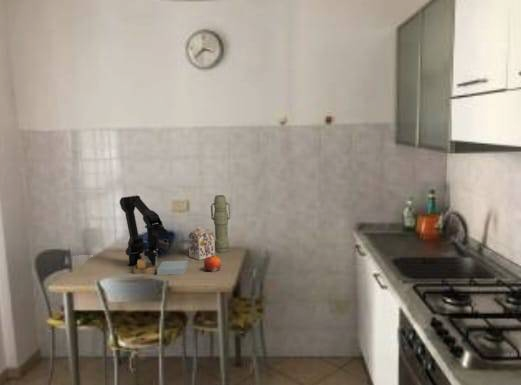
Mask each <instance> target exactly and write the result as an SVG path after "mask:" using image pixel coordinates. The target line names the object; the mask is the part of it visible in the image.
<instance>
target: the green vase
mask: <svg viewBox="0 0 521 385" xmlns="http://www.w3.org/2000/svg"><path fill="white" fill-rule="evenodd" d="M227 205H228V210H227ZM213 206H214V209H213ZM213 210H214V211H213ZM227 211H228V212H227ZM210 216H211V220H212V221H213V224H214V239H215V251H216V252H215V253H226V252H229V251H230V241H229V235H228V234H229V233H228V232H229V231H228V224H229V220H231V206H230V203H229V202H227V199H226V196H225V195H223V194H219V195H215V196H214V199H213V203H211V205H210Z"/></svg>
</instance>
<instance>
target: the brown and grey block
mask: <svg viewBox="0 0 521 385" xmlns="http://www.w3.org/2000/svg"><path fill="white" fill-rule="evenodd" d="M159 266H160V264H158V255H156V259H155V265H152V263H151V262H150V264H147V266H146V268H138V266H137V264H136V265H135V266H133V274H157V269H158V267H159Z"/></svg>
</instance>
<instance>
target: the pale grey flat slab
mask: <svg viewBox="0 0 521 385" xmlns="http://www.w3.org/2000/svg"><path fill="white" fill-rule="evenodd" d="M188 262H189V261H188V260H166V261H164V260H163V261H162V262H161V263H160V264H159V267H158V269H157V272H156V275H157V276H163V275H165V276H167V275H168V274H173V275H184V274H185V273H186V270H187V268H188V265H189V264H188Z"/></svg>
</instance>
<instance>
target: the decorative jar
mask: <svg viewBox="0 0 521 385" xmlns="http://www.w3.org/2000/svg"><path fill="white" fill-rule="evenodd" d="M196 228H197V229H194V230H192V231H190V233H189V234H188V235H187V236H188V256H189V258H193V259H195V260H197V261H201V260H205V259H206V258H207V257H211V256H216V252H215V233H213V231H212V230H211V229H207V228H206V227H205V226H198V227H196Z"/></svg>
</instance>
